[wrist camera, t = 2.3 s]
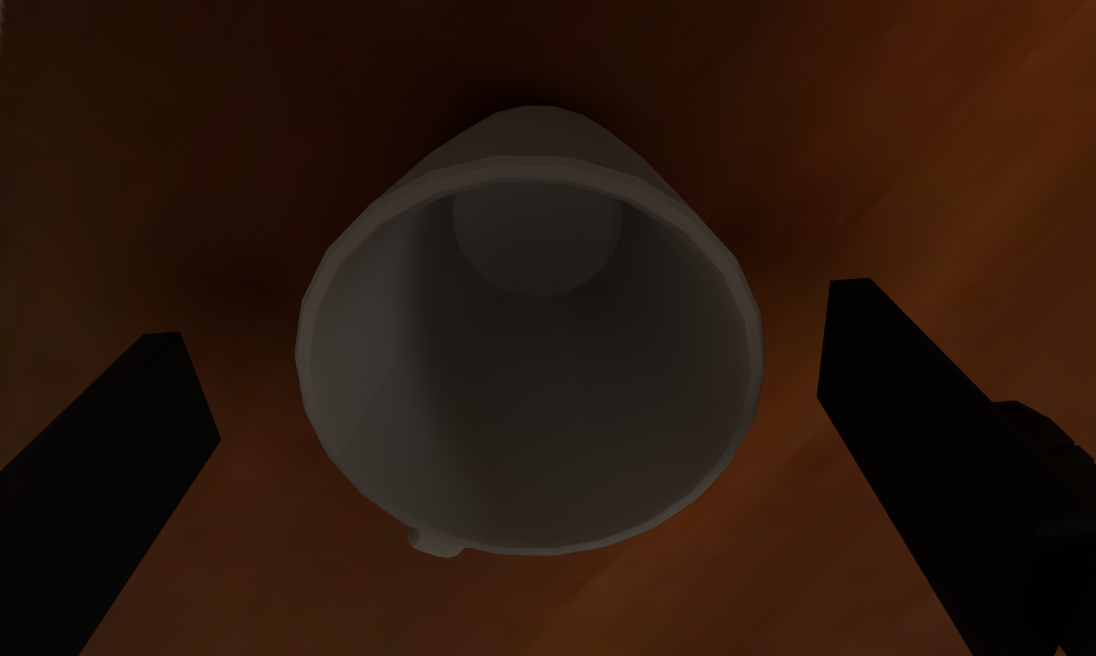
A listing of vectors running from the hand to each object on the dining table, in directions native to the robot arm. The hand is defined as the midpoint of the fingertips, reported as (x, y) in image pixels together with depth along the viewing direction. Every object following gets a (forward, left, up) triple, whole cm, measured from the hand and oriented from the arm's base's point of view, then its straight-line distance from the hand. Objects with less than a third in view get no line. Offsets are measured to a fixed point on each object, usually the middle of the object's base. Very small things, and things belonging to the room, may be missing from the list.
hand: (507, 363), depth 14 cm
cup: (0, 0, -6) cm, 6 cm away
